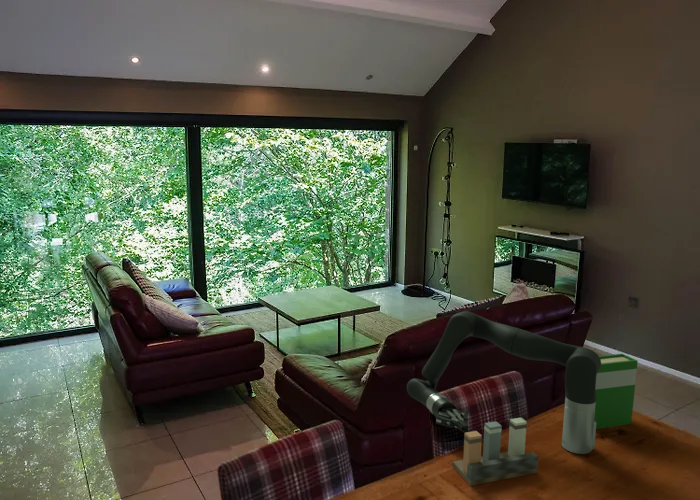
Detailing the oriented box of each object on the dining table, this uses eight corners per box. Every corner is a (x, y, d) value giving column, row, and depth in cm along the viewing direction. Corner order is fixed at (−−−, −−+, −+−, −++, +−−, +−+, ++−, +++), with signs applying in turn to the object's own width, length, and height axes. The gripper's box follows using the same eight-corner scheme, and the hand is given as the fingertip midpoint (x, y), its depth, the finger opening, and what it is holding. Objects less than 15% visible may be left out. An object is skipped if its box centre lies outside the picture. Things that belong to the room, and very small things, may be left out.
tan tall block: (474, 467, 168) (476, 430, 166) (480, 473, 166) (482, 435, 164) (462, 469, 167) (464, 432, 165) (467, 475, 164) (469, 437, 162)
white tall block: (518, 452, 177) (520, 417, 175) (524, 457, 174) (526, 421, 172) (507, 454, 176) (509, 419, 174) (513, 459, 173) (515, 423, 171)
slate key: (494, 457, 175) (496, 421, 173) (499, 462, 172) (501, 425, 170) (482, 459, 173) (484, 423, 171) (488, 464, 170) (490, 427, 168)
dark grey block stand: (515, 454, 180) (517, 438, 179) (537, 472, 169) (538, 456, 168) (452, 465, 173) (452, 449, 172) (470, 485, 162) (471, 468, 161)
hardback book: (590, 429, 197) (595, 365, 193) (576, 420, 204) (581, 357, 200) (631, 423, 201) (637, 360, 197) (616, 414, 208) (622, 353, 204)
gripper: (424, 399, 194) (448, 421, 178) (457, 394, 199) (484, 415, 182) (423, 419, 196) (447, 443, 179) (457, 414, 200) (483, 436, 184)
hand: (466, 429), depth 181 cm, fingers closed
